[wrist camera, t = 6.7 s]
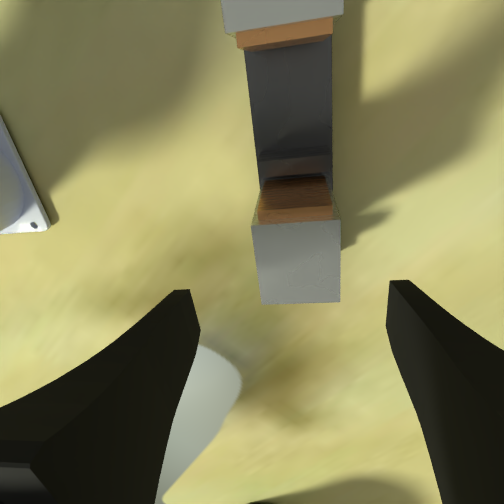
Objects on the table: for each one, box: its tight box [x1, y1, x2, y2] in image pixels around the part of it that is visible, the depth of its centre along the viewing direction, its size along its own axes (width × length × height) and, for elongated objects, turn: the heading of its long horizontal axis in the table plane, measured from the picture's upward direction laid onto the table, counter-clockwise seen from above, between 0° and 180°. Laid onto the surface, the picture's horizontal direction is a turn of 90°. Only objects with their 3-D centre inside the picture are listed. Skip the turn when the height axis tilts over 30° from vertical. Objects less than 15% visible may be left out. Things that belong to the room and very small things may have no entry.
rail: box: [221, 0, 344, 192], centre depth 15 cm, size 18×4×8 cm, turn 7°
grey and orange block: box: [251, 174, 341, 304], centre depth 16 cm, size 4×4×6 cm
